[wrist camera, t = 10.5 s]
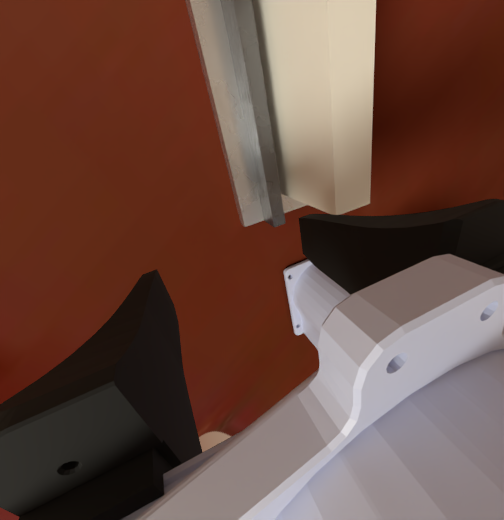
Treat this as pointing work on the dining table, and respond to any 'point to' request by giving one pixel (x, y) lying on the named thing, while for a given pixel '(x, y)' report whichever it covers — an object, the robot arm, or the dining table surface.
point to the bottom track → (240, 106)
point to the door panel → (320, 97)
